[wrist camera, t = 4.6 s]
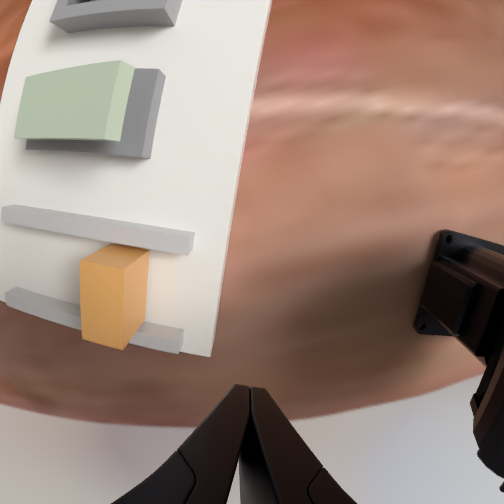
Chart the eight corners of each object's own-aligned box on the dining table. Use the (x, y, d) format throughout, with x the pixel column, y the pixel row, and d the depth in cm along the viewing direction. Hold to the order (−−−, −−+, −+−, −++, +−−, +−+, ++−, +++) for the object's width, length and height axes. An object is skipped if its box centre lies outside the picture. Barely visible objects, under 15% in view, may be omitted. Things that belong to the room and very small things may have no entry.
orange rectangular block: (149, 249, 15) (123, 269, 11) (145, 318, 15) (123, 350, 12) (111, 243, 14) (79, 260, 11) (109, 310, 15) (82, 339, 12)
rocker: (134, 67, 10) (120, 59, 9) (120, 141, 11) (104, 139, 10) (40, 80, 11) (26, 76, 10) (28, 139, 12) (13, 138, 11)
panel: (280, -39, 13) (285, -78, 9) (214, 339, 18) (205, 379, 14) (64, -28, 12) (36, -51, 8) (10, 288, 18) (-25, 308, 14)
